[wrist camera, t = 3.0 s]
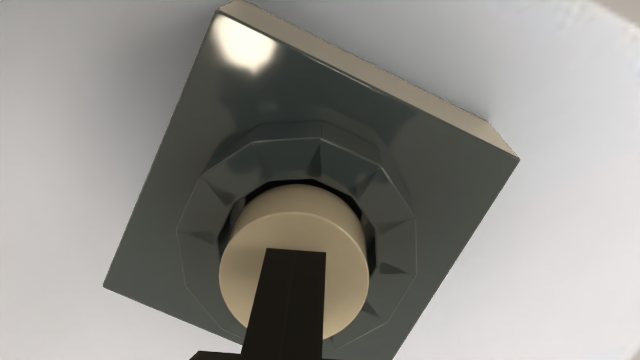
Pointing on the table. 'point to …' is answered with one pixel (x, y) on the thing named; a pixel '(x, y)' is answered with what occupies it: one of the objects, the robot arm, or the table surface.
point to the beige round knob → (298, 234)
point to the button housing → (307, 176)
